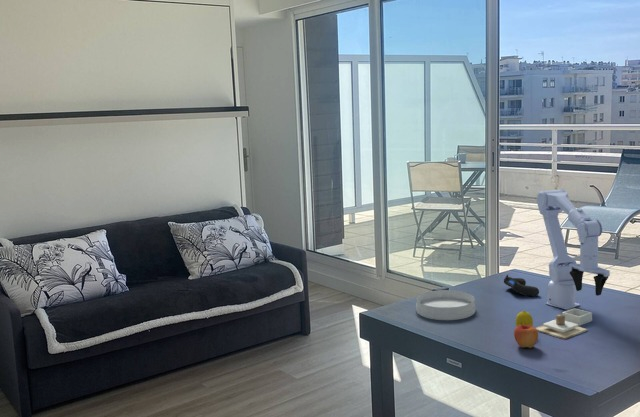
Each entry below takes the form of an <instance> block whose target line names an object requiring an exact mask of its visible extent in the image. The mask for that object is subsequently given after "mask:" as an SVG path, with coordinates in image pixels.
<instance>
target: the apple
mask: <svg viewBox="0 0 640 417" xmlns="http://www.w3.org/2000/svg"><path fill="white" fill-rule="evenodd" d="M513 337H514V340H515V342H516V343H517V345H518V346H519V347H521V348H522V349H524V348H528V349H532V348H533V347H534V346H535V345H536V343H537V342H538V341H539V340H538V339H539V331H537V329H536V327H535V326H534V325H533V326H530V325H522V323H521V325H519V326H517V327H515V329H514V332H513Z"/></svg>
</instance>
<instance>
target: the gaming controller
mask: <svg viewBox="0 0 640 417" xmlns="http://www.w3.org/2000/svg"><path fill="white" fill-rule="evenodd" d="M503 283H504V284H505V285H506V286H508V287H510V288H511V290H512V291H514V292H516V293H517V294H518V295H523V296H529V297H537V296H538V295H539V294H540V290H539V289H538V287H536V286H531V285H527V284H526V283H527V281H526V280H525V279H524V278H521V277H520V278H519V277H511V276H509V274H507V275H506V276H505V277H504V278H503Z"/></svg>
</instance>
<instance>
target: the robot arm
mask: <svg viewBox="0 0 640 417" xmlns="http://www.w3.org/2000/svg"><path fill="white" fill-rule="evenodd" d="M536 203H537V207H538V210H539V211H538V212H539V214H540V215H542V219H543V221H544V226H545V229H546V233H547V238H548V240H549V241H548V242H549V244H550V249H551V251H552V252H551V253H552V256H553V259H552V260H551V261H549V263H548V271H549V272H548V276H549V279H550V281H549V282H548V284H547V288H546V289H547V290H546V291H547V292H546V296H547V297H546V299H547V300H546V301H547V302H545V305H548V306H550V307H551V306H552V307H555V308H558V309H559V308H560V309H564V310H565V311H568V310H570V309H573V308H577V307H580V305H581V304H580V303H579V302H576V298H575V297H576V291H577V292H578V291H579V292H580V291H582V289H583V277H584V274H585V273H589V274H594V276H593V280H594V284H595V291H594V292H595V296H601V295H602V292H603V289H604V286H605V284H606V283H607V280H608V279H609V277H610V275H611V274H610V273H611V272H610V271H611V270H609V269H606V268H603V267H600V266H599V237H600V236H602V233H603V226H602V223H601V222H600V220H599V219H594V218H593V219H592V218H591V217H590V216H589V215H588V214H587V213H586V212H585V211H584V209H582V208H579V207H578V208H576V207H575V205H574V204H573V203H572V202H571V200H570V199H569V193H568V192H567V191H566V190H565V189H564V188H561V189H554V190H540V191H539V192H538V194H537V197H536ZM562 212H564V213H565V214H566V215H567V220H568V221H569V222H570V223H571V224H572V225H573V226H574V227H575V228H576V232H577V236H578V242H579V244H580V247H579V250H580V252H579V253H580V254H579V255H580V256H579V258H580V259H579V263H577V260H576V259H575V258H573V257H572V256H570V255H569V253H568V250H567V246H566V242H565V238H564V236H563V232H562V228H561V224H560V220H559V217H558V216H559V214H561V213H562ZM584 272H585V273H584Z"/></svg>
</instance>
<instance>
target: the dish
mask: <svg viewBox="0 0 640 417" xmlns="http://www.w3.org/2000/svg"><path fill="white" fill-rule="evenodd" d="M475 300H476V299H475V296H473V295H472V294H470V293H468V292H465V291H461V290H454V289H453V290H452V289H438V290H432V291H431V290H430V291H425V292H422V293H420V294H419V295H418V296H416V304H415V308H416V309H415V311H416V313H417V315H419V316H421V317H423V318H426V319H431V320H436V321H437V320H438V321H455V320H462V319H463V320H464V319H466V318H469V317H471V316H473V315H475V313H476V303H475V302H476V301H475Z"/></svg>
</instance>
